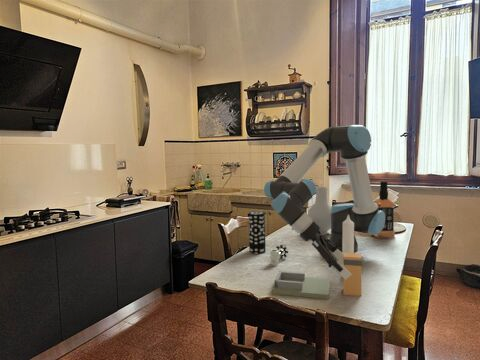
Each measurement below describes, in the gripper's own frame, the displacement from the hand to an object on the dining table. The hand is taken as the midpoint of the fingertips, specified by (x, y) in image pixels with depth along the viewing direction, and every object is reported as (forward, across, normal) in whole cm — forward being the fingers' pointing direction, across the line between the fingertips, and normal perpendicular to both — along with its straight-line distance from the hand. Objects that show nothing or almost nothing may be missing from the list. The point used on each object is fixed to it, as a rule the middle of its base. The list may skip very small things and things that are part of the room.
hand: (348, 270), depth 125 cm
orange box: (+7, -1, -5) cm, 9 cm away
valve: (-15, -28, -28) cm, 42 cm away
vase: (-3, -84, -15) cm, 86 cm away
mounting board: (-6, -1, -18) cm, 19 cm away
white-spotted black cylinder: (-24, -41, -37) cm, 60 cm away
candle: (+7, -19, -6) cm, 21 cm away
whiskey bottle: (+21, -84, +9) cm, 87 cm away
